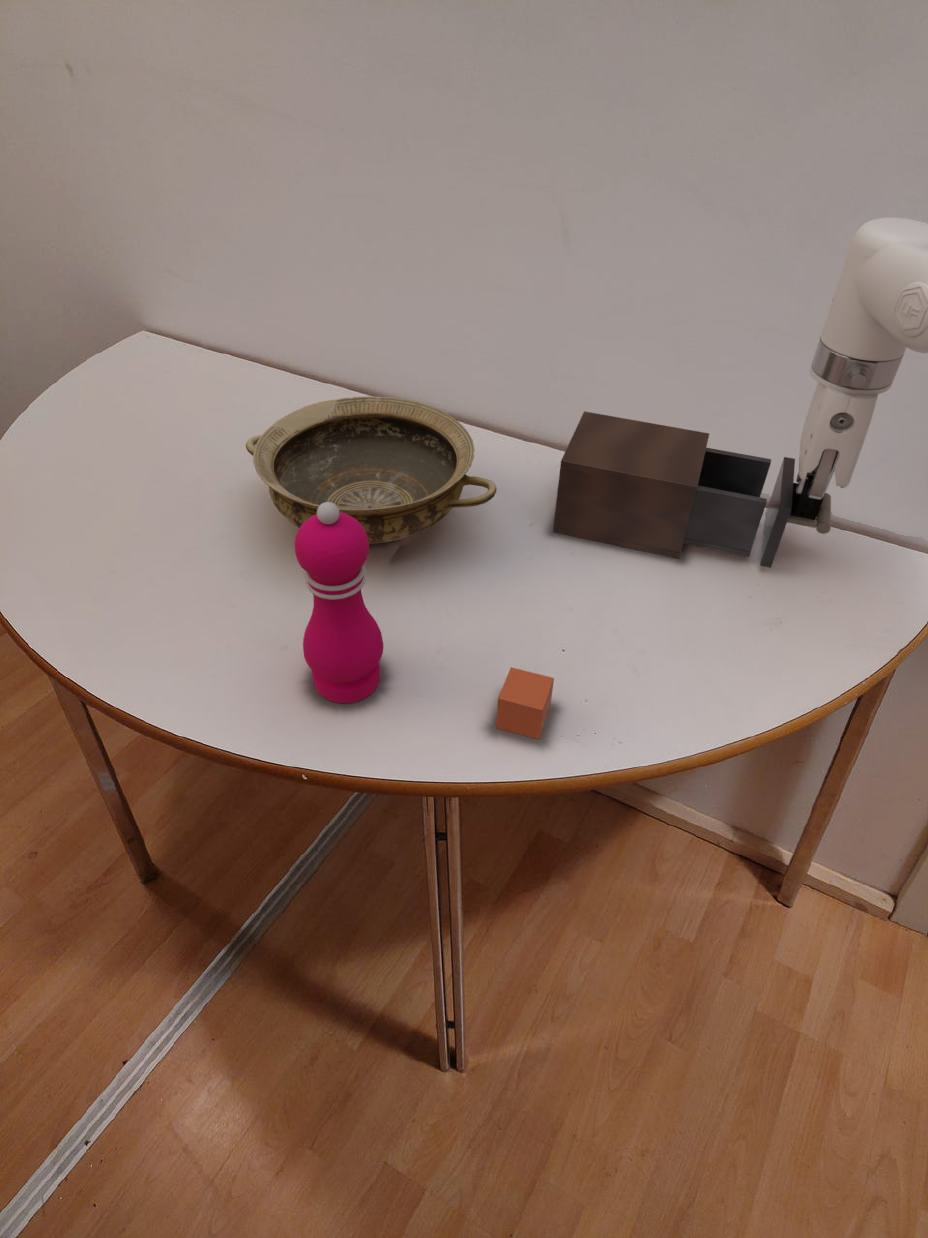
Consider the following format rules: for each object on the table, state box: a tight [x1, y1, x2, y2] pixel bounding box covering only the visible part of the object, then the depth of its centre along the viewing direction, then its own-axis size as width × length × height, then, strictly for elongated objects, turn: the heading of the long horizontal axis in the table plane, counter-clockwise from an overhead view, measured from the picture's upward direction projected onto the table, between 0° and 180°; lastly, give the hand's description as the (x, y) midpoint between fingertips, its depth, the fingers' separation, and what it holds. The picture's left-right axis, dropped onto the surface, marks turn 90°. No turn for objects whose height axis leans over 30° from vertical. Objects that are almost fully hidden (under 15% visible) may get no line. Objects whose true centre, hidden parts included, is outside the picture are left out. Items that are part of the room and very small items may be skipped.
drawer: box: [683, 447, 832, 569], centre depth 91 cm, size 18×10×8 cm, turn 71°
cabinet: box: [552, 410, 710, 559], centre depth 94 cm, size 15×12×10 cm
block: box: [495, 666, 555, 740], centre depth 73 cm, size 4×4×4 cm
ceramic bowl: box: [245, 395, 497, 545], centre depth 93 cm, size 30×24×10 cm
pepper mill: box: [294, 502, 384, 704], centre depth 71 cm, size 7×7×20 cm
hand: (797, 519), depth 90 cm, fingers closed
